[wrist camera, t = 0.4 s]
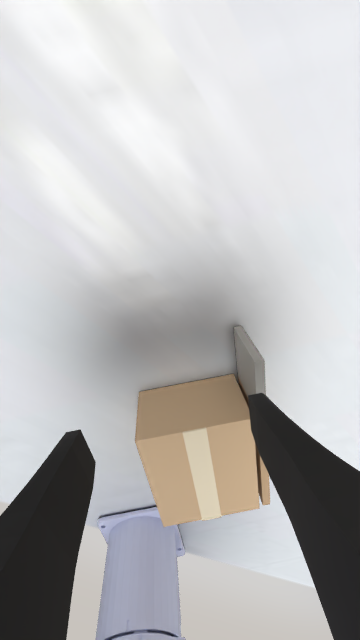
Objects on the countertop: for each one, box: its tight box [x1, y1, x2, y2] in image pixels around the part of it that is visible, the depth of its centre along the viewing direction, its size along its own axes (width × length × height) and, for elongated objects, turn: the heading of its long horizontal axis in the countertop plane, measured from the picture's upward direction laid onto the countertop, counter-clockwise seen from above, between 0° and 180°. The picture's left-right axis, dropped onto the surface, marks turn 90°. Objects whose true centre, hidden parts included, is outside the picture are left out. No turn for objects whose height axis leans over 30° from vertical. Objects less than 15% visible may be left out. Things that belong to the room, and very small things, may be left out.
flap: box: [234, 326, 270, 505], centre depth 21 cm, size 14×1×5 cm, turn 9°
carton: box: [135, 374, 259, 527], centre depth 22 cm, size 10×8×5 cm
